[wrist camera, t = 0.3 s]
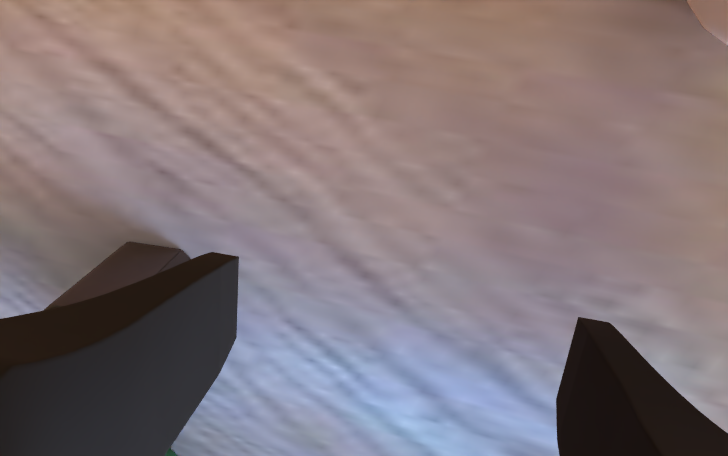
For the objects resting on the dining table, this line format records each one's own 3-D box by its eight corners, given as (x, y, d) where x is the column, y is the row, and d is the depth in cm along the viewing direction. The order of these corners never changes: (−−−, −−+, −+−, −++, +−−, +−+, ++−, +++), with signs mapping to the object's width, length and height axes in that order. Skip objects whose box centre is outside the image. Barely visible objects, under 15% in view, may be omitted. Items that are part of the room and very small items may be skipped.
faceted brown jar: (222, 371, 28) (163, 463, 23) (101, 350, 29) (19, 435, 24) (220, 255, 26) (155, 329, 21) (90, 235, 27) (-3, 302, 22)
